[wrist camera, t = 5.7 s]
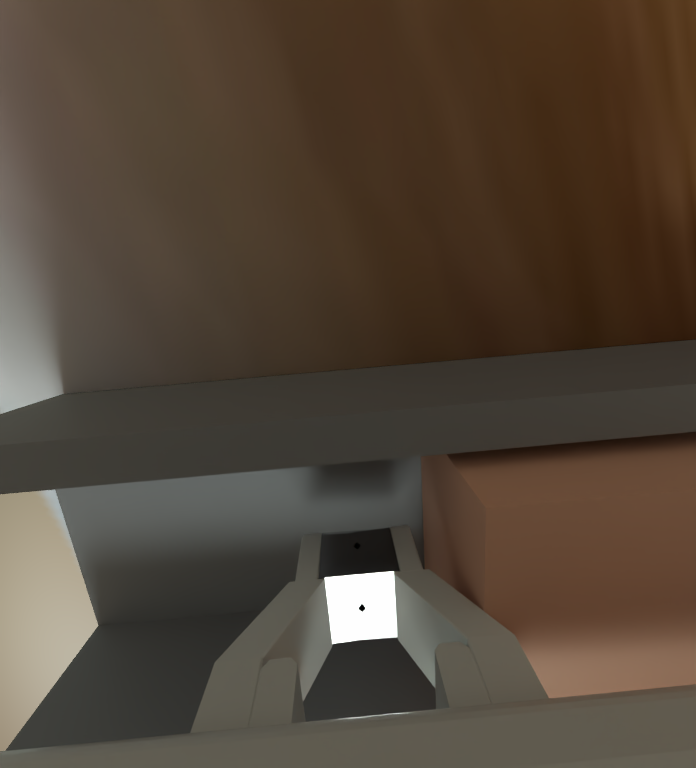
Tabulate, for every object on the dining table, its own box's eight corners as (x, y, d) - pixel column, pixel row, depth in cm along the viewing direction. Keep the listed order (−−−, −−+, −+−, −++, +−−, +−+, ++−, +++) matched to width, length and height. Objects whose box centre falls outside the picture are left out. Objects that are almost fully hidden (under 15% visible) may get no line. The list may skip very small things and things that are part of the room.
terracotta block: (419, 418, 10) (485, 508, 5) (619, 400, 10) (843, 475, 6) (425, 585, 11) (481, 765, 7) (600, 569, 11) (767, 736, 7)
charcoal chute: (62, 394, 11) (-132, 456, 6) (1051, 308, 11) (1525, 310, 7) (127, 617, 13) (16, 782, 8) (959, 538, 13) (1275, 655, 9)
